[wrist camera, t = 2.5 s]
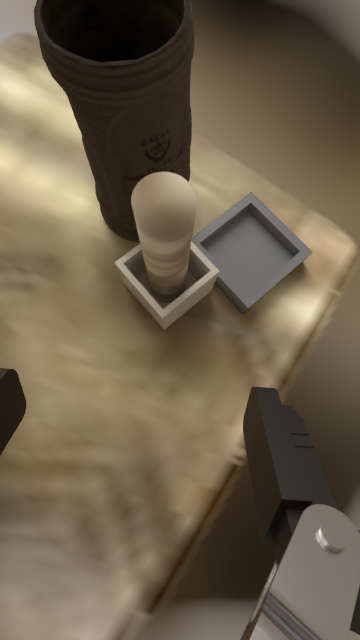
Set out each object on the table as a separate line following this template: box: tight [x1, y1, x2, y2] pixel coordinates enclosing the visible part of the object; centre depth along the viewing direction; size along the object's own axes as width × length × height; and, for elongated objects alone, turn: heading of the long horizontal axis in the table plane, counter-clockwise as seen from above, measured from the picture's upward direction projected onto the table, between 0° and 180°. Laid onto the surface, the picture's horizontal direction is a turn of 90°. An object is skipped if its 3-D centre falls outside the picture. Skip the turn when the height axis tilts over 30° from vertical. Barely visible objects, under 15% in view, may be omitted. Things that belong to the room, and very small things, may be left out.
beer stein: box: [34, 0, 195, 242], centre depth 28 cm, size 15×11×20 cm
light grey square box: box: [115, 241, 219, 330], centre depth 31 cm, size 7×7×6 cm
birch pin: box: [131, 172, 196, 303], centre depth 26 cm, size 4×4×16 cm
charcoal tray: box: [191, 192, 313, 313], centre depth 34 cm, size 10×10×2 cm
